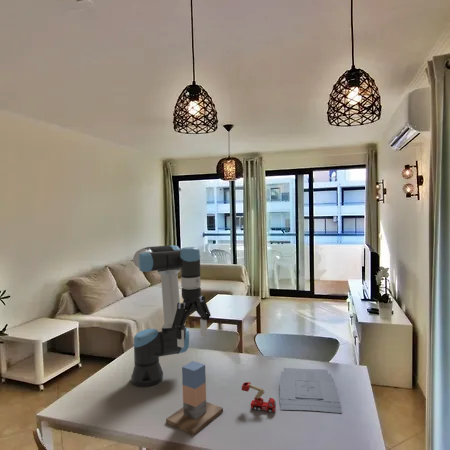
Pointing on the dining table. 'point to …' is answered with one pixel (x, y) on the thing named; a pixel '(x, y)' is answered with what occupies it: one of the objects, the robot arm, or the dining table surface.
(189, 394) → the terracotta brick
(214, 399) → the dining table surface
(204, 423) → the board
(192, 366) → the slate blue brick
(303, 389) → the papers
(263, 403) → the toy fire truck
